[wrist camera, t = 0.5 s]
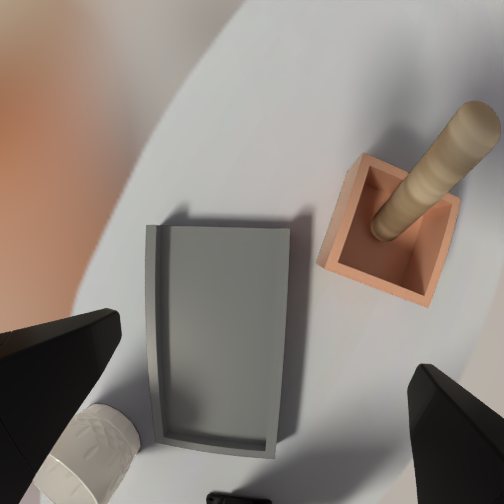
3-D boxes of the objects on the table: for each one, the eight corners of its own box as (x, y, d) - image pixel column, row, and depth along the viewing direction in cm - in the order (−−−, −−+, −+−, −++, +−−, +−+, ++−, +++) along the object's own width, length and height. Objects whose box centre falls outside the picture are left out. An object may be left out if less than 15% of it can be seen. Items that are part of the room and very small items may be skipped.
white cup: (132, 399, 24) (72, 457, 14) (156, 464, 24) (115, 529, 14) (70, 395, 25) (7, 437, 15) (95, 456, 25) (47, 505, 15)
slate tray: (275, 444, 23) (274, 458, 21) (164, 429, 24) (155, 442, 22) (289, 230, 22) (290, 228, 20) (158, 226, 23) (146, 224, 21)
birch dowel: (389, 246, 21) (495, 243, 9) (363, 236, 21) (452, 219, 9) (410, 172, 21) (510, 109, 8) (385, 161, 21) (471, 83, 9)
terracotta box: (401, 295, 22) (428, 308, 17) (315, 263, 22) (324, 268, 17) (429, 207, 21) (461, 199, 16) (347, 171, 22) (363, 152, 17)
